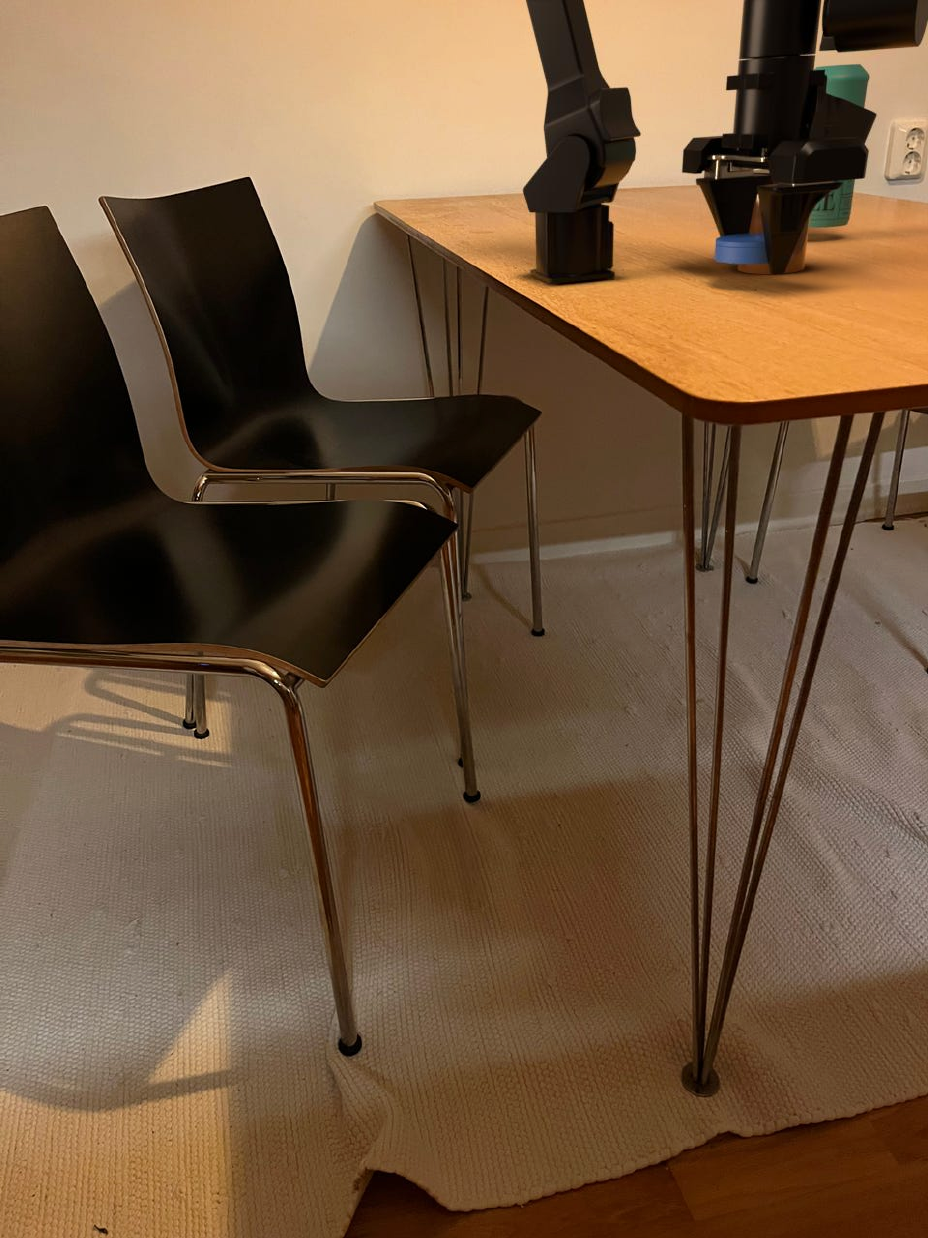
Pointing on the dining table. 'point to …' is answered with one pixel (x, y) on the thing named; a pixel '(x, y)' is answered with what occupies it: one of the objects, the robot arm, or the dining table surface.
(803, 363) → the dining table surface
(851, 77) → the beverage bottle
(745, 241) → the jar lid
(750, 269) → the jar
